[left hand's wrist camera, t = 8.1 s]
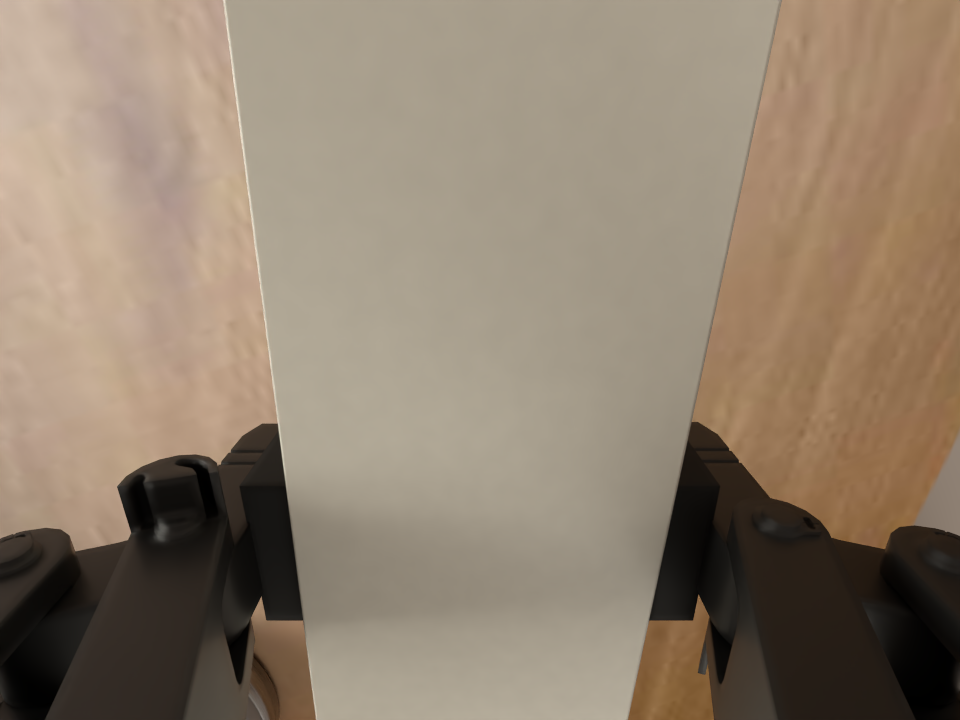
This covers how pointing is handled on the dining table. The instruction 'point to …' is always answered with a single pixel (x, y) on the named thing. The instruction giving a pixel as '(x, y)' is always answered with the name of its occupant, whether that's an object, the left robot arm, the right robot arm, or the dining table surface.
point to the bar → (488, 325)
